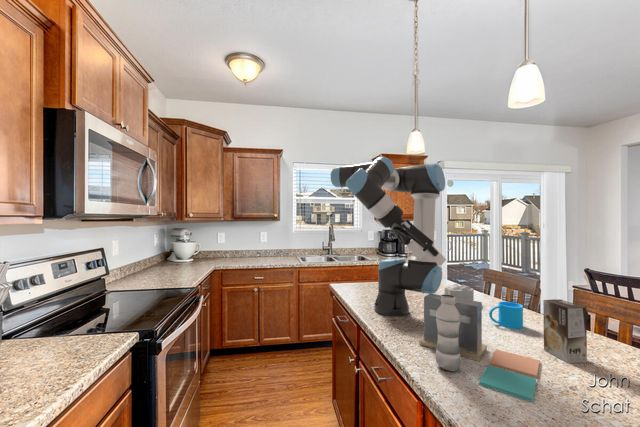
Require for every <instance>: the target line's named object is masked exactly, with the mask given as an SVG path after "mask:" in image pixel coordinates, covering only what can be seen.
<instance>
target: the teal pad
mask: <svg viewBox="0 0 640 427" xmlns="http://www.w3.org/2000/svg"><path fill="white" fill-rule="evenodd" d="M478 385H479V386H483V387H485V388H488V389H492V390H494V391H497V392H500V393H504V394H507V395H510V396H513V397H516V398H519V399H522V400H525V401H528V402H531V403H533V401H534V397H535V390H536V386H537V379H536V378H533V377H529V376H526V375H522V374H519V373H515V372H512V371H508V370H505V369H501V368H498V367H494V366H491V365H489V364H487V365H486V368H485V369H484V371H483V372H482V375H481V377H480V378H479V380H478Z"/></svg>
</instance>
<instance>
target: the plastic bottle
mask: <svg viewBox="0 0 640 427" xmlns="http://www.w3.org/2000/svg"><path fill="white" fill-rule="evenodd" d="M440 295H441V303H442V304H441V305H440V306H439V307H438V309H437V310H436V313H435V314H436V322H437V332H438V341H437V349H435V356H434V357H435V363H436V364H437V366H438V367H439V368H440V369H443V370H445V371H449V372H457V371H459V370H460V368H461V366H462V359H461V358H462V356H460V353H459V342H458V338H459V337H458V336H459V326H460V319H461V316H460V313H459V311H458V310H457V308H456V307H455V305H454V304H456V302H455V296H453V295H447V294H444V293H443V294H440Z"/></svg>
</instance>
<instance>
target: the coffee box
mask: <svg viewBox="0 0 640 427" xmlns="http://www.w3.org/2000/svg"><path fill="white" fill-rule="evenodd" d="M542 302H543V303H542V304H543V312H542V313H543V350H544V351H545V352H547V353H549V354H551V355H553V356H554V357H556V358H558V359H560V360H561V361H564V362H566V363H567V364H577V363H578V364H582V363H583V364H584V363H585V364H586V363H588V348H587V347H588V344H587V343H588V340H587V339H588V337H587V335H588V334H587V332H588V330H587V327H588V326H587V323H588V322H587V320H588V319H587V307H586V306H582V305H579V304H576V303H573V302H569V301H565V300H563V299H557V298H556V299H553V298H552V299H544V300H542Z"/></svg>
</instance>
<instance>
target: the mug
mask: <svg viewBox="0 0 640 427" xmlns="http://www.w3.org/2000/svg"><path fill="white" fill-rule="evenodd" d="M497 309H498V319H497V320H496V319H495V318H494V316H493V312H494V311H495V310H497ZM488 315H489V318H490V320H491V321H493V322H494V323H495V324H498V325H499V326H501V327H504V328H507V329H511V330H522V329H523V328H524V305H523V304H521V303H517V302H512V301H499V302H498V305H496V306H494V307H493V306H492V308H491V309H490V310H489V313H488Z"/></svg>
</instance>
